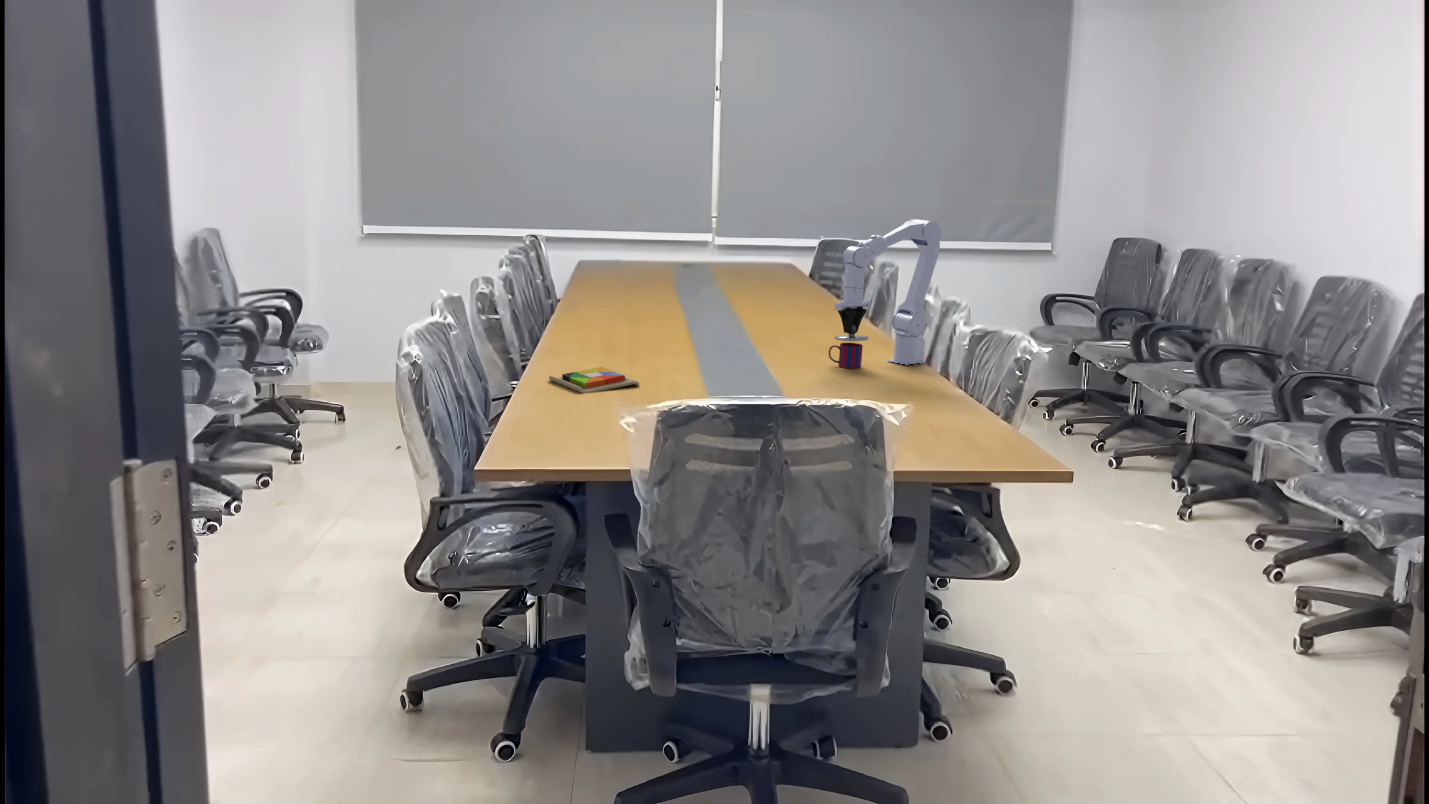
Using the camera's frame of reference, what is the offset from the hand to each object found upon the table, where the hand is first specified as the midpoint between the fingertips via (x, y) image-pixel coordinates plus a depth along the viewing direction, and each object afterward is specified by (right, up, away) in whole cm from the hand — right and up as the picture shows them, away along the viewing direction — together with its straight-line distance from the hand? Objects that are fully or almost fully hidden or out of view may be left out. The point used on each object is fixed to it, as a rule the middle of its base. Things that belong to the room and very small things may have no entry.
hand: (850, 332), depth 325 cm
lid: (0, -2, 0) cm, 2 cm away
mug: (-2, -10, +3) cm, 11 cm away
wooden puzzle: (-73, -17, -35) cm, 82 cm away
